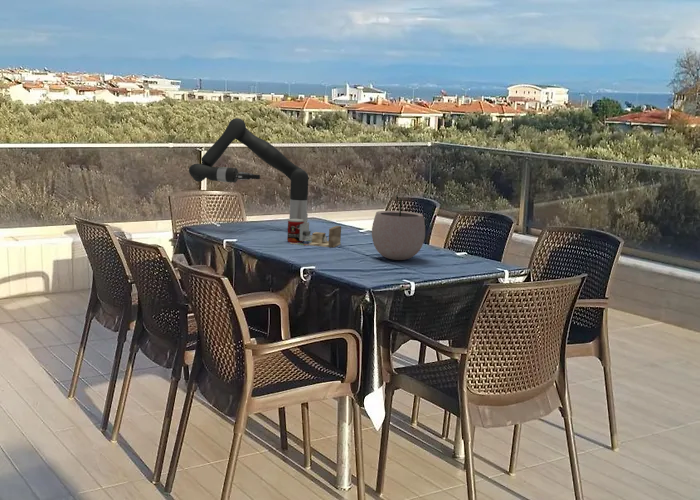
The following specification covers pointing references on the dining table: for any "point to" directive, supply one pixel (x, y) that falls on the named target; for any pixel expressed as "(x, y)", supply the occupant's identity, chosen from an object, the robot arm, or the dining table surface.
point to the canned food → (294, 230)
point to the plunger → (307, 233)
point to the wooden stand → (318, 236)
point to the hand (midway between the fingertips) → (259, 177)
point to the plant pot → (398, 233)
